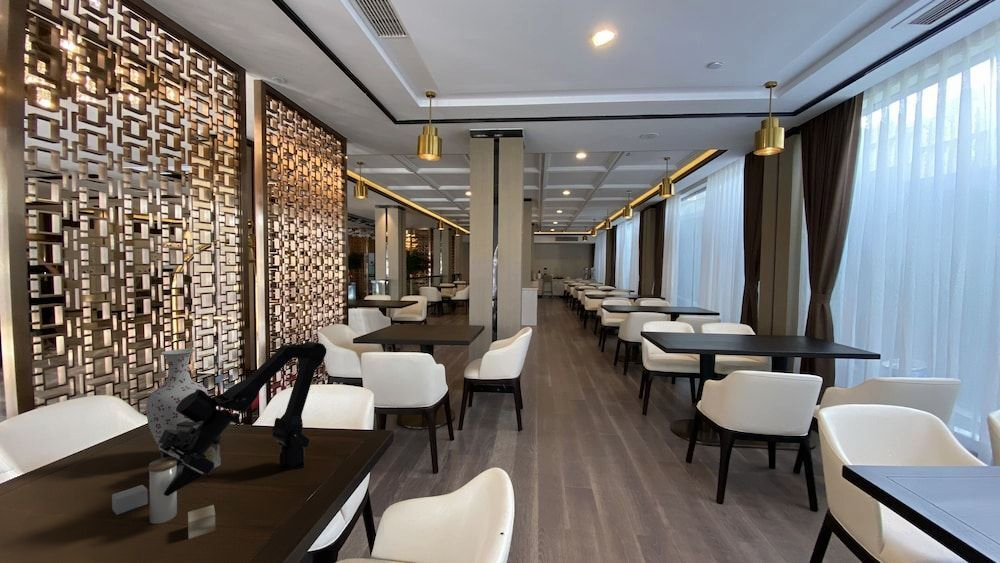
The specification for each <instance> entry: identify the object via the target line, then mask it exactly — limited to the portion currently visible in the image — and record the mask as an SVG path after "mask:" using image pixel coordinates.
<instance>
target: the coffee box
mask: <svg viewBox="0 0 1000 563" xmlns="http://www.w3.org/2000/svg"><path fill="white" fill-rule="evenodd" d="M202 422H203V421H200V422H197V423H195V422H194V421H192V420H187V421H184V422H182V423H179V424H176V425H177V431H181V430H182V431H189V430H190V429H191V428H193V427H194V428H196V429H197V427H198V426H199V425H200V424H201V423H202ZM216 440H217V441H219V442H218V443H217V444H216V445H215V444H212V445H211V446H210V448H209V449H208V450H207V451H206V452H205V453H204V455H205V456H206V457H205V458H206V459H208V460H210V461H212V462H214V469H216V468H218V467H220V466H221V464H222V463H221V458H222V456H221V435H220V436H219V437H218V438H217V439H216ZM178 459H179V460H181V461H182V462H183V461H184V460H183V459H181V458H178ZM182 464H184V465H187V464H186V463H184V462H183V463H182ZM179 471H180V465H179V466H178V467H177V474H178V473H179ZM202 474H204V475H205V473H202Z"/></svg>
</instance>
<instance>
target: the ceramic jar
mask: <svg viewBox="0 0 1000 563" xmlns="http://www.w3.org/2000/svg"><path fill="white" fill-rule="evenodd" d="M148 471H149V482H150V484H149V524H150V523H151V524H153V525H155V524H156V525H158V524H162V523H167V522H168V521H170V520H173V519H174V518H175V517H177V515H178V493H177V492H178V490H177V491H175V492H174V493H172V494H170V495H169V496H166V495H164V492H165V491H166V489H167V488H168V486H169V485H170V484H171V482H172V481H173V479H174V478H175V477H176V475H177V458H176V457H165V458H161V457H160V458H158V459H155V460H153V461H151V462H150V463H149V464H148Z"/></svg>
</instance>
